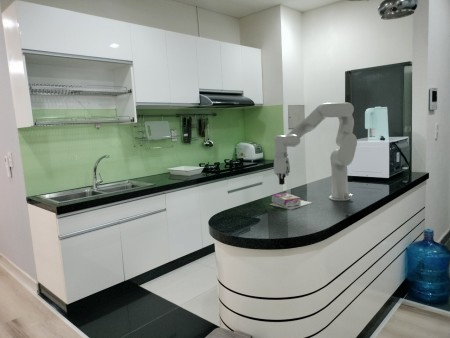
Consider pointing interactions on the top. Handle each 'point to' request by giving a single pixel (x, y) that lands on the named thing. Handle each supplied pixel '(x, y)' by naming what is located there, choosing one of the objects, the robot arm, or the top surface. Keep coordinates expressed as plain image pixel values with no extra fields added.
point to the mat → (293, 206)
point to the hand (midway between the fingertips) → (281, 184)
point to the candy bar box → (286, 200)
